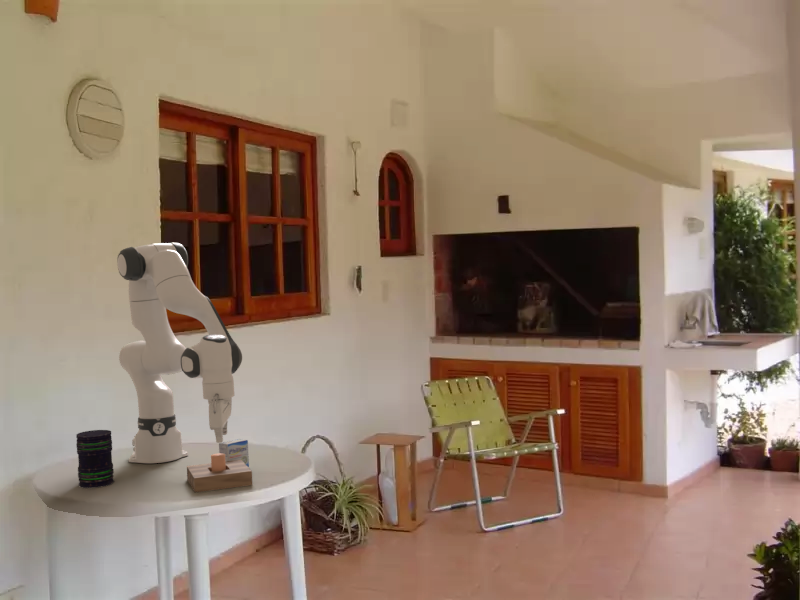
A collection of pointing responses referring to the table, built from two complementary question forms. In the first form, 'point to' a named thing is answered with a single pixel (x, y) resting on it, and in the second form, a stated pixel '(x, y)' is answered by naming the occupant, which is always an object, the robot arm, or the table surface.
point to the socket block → (219, 476)
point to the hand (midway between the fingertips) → (222, 438)
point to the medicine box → (235, 450)
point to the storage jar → (95, 458)
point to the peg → (218, 462)
